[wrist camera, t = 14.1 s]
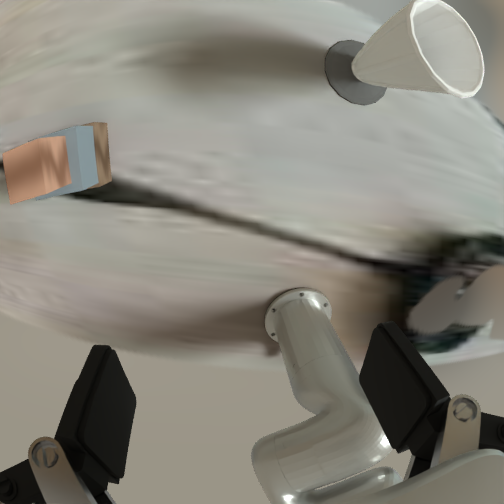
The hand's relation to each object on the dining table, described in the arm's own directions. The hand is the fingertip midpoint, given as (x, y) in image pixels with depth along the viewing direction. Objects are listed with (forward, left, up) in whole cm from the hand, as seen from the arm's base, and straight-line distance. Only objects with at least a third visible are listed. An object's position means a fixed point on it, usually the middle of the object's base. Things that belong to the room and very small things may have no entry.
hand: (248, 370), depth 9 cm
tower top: (+7, +21, -30) cm, 37 cm away
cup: (+19, -21, -34) cm, 45 cm away
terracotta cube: (+7, +22, -24) cm, 34 cm away
